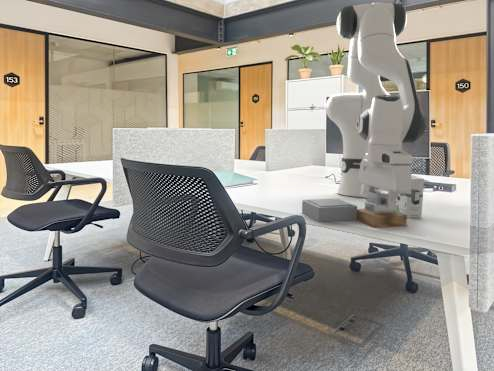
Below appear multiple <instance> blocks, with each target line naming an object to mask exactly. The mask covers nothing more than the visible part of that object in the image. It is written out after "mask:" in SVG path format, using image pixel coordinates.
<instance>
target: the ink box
mask: <svg viewBox="0 0 494 371" xmlns="http://www.w3.org/2000/svg"><path fill="white" fill-rule="evenodd" d="M424 186H425V179H424V178H422V177H419V176H417V175H413V174H412V178H411V187H410V190H409V192H408V193H404V194H398V197H397V199H396V204H397V212H400V213H403V214H406V215H407V219H408V218H410V219H411V218H414V219H417V218H418V219H419V218H422V212H423V200H424V199H423V198H424Z"/></svg>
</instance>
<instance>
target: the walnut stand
mask: <svg viewBox="0 0 494 371" xmlns="http://www.w3.org/2000/svg"><path fill="white" fill-rule="evenodd" d="M407 219H408V218H407V215H406V214H403V213H400V212H397V213H387V214H372V213H370V212H367V211H365V207H364V208H357V220H356V221H359V222H361V223H363V224H365V225H368V226H370V227H372V228H388V227H403V226H404V227H405V226H407V223H408V221H407Z"/></svg>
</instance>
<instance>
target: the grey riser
mask: <svg viewBox="0 0 494 371" xmlns="http://www.w3.org/2000/svg"><path fill="white" fill-rule="evenodd" d="M301 201H302V202H301V205H302V206H301V213H302V214H303V215H306V216H307V217H309V218H310V219H313V220H314V221H316V222H318V223H319V222H323V223H324V222H336V221H337V222H340V221H341V222H342V221H358V220H357V209H358V205H356V204H353V203H350V202H347V201H345V200H343V199H340V198H317V199H315V198H314V199H302V200H301Z"/></svg>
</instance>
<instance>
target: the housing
mask: <svg viewBox="0 0 494 371" xmlns="http://www.w3.org/2000/svg"><path fill="white" fill-rule="evenodd" d="M388 198H389V195H388V191H367V198H366V201H365V202H364V208H365V211H367V212H370V213H372V214H387V213H397V204H396V200H395V204H394V208H388V207H386V201H388Z"/></svg>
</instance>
